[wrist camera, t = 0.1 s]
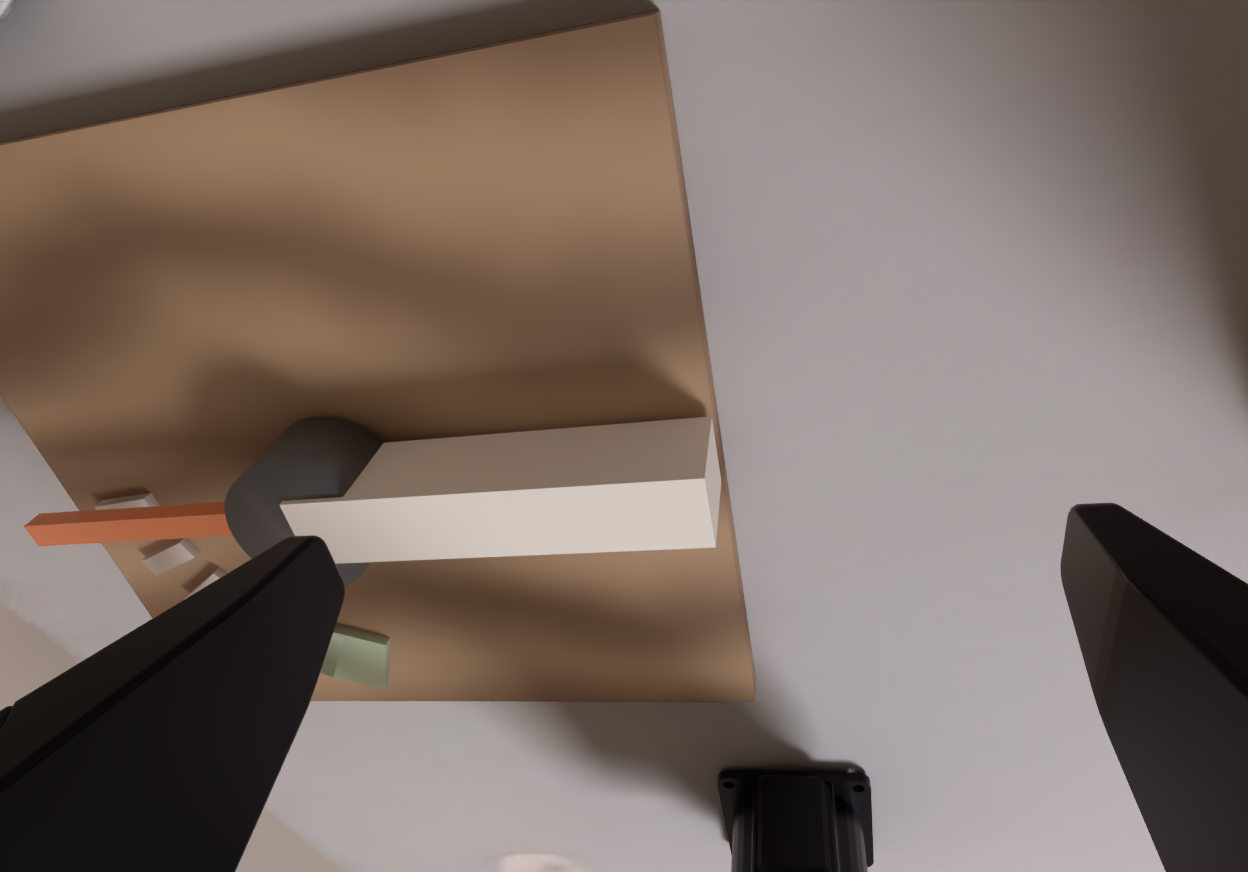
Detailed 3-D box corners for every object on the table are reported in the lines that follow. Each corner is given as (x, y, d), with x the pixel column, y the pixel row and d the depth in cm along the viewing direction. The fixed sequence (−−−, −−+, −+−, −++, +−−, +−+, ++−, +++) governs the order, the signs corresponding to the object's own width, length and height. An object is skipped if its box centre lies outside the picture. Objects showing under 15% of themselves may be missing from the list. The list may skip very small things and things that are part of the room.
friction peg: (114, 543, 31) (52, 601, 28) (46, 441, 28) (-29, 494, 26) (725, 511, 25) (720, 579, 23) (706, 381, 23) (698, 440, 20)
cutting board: (755, 677, 32) (754, 710, 30) (223, 680, 37) (203, 707, 36) (659, 10, 19) (651, 15, 18) (-112, 165, 25) (-161, 178, 24)
